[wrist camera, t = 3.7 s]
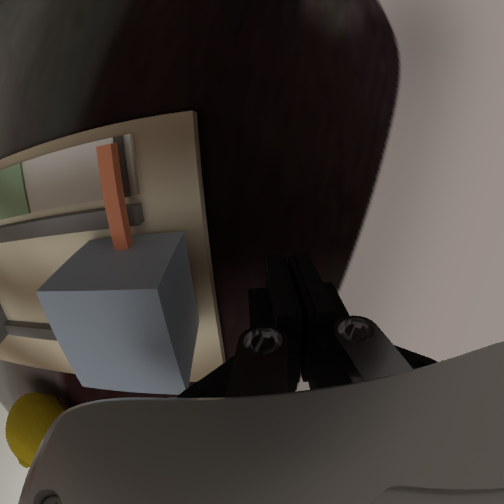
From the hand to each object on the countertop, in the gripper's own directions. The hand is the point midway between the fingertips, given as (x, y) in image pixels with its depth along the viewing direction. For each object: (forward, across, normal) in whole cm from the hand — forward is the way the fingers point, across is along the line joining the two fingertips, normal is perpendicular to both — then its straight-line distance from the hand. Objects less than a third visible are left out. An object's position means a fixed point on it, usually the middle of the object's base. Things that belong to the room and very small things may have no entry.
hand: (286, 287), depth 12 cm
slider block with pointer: (+1, +6, -2) cm, 7 cm away
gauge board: (+3, +13, 0) cm, 13 cm away
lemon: (+3, +19, +12) cm, 23 cm away
